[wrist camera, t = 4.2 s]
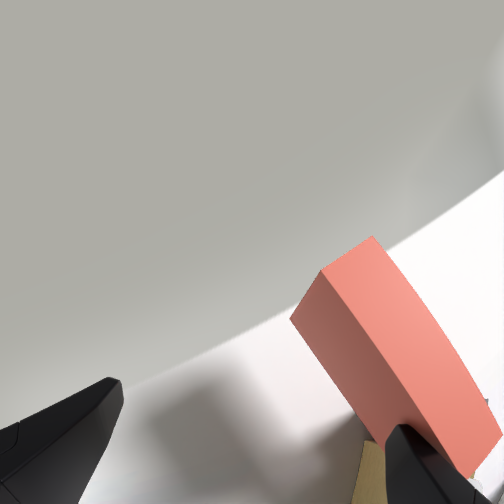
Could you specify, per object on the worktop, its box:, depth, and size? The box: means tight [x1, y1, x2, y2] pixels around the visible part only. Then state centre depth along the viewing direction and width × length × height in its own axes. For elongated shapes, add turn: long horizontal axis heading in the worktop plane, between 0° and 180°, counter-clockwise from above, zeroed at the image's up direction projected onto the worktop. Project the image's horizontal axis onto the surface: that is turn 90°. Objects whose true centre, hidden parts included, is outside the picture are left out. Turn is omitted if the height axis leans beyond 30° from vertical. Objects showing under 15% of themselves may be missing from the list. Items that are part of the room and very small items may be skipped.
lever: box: [289, 236, 503, 493], centre depth 9 cm, size 13×2×5 cm, turn 33°
